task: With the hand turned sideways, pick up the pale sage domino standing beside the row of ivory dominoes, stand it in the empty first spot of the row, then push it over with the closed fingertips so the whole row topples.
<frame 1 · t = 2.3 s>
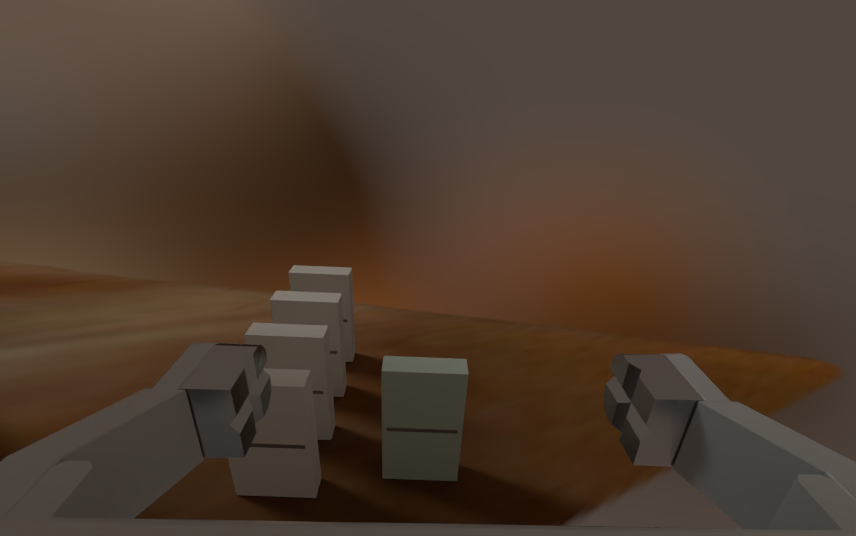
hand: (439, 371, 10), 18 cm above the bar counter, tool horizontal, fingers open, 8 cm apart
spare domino: (419, 470, 28), on the bar counter
domino 2: (280, 486, 27), on the bar counter
domino 3: (299, 431, 31), on the bar counter
domino 4: (315, 389, 35), on the bar counter
end domino: (327, 356, 39), on the bar counter
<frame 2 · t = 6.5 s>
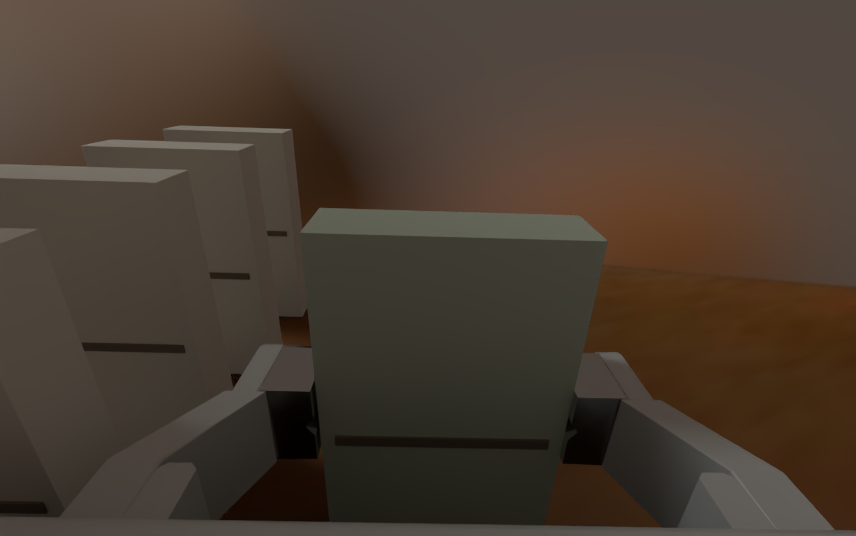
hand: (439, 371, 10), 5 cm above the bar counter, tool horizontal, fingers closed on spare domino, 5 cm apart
domino 3: (157, 447, 14), on the bar counter
domino 4: (219, 362, 18), on the bar counter
end domino: (258, 308, 22), on the bar counter
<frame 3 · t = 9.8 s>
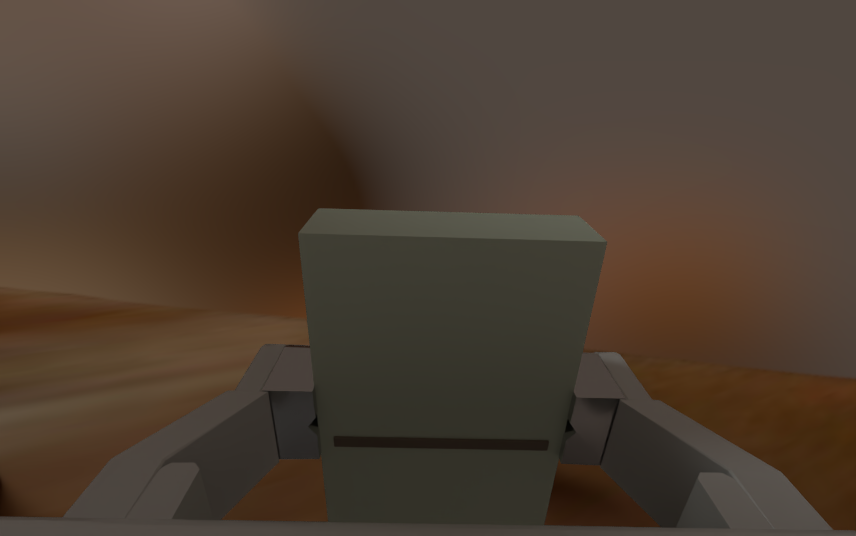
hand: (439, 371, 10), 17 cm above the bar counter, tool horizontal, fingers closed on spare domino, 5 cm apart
when the fingers open (6 cm above the bar counter, at t = 12.8 s): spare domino stays where it is, on the bar counter.
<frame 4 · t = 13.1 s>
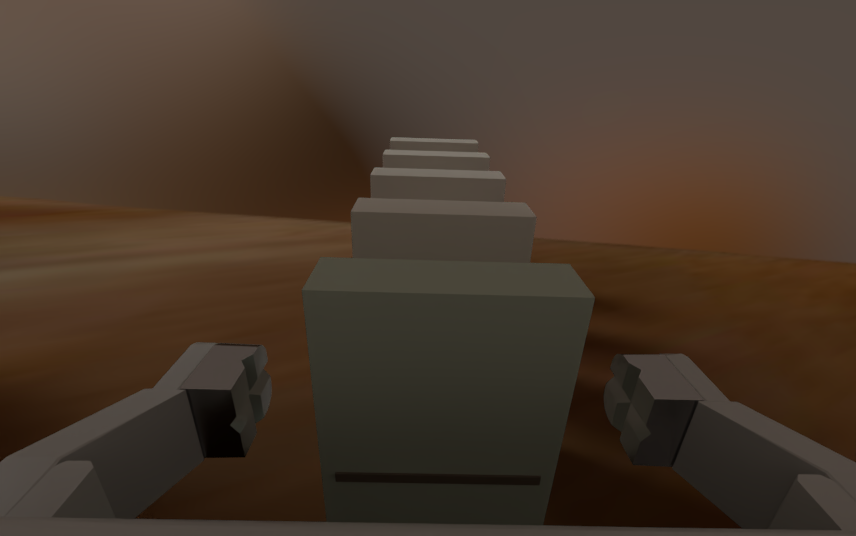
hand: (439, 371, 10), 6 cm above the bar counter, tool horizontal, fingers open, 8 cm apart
domino 2: (431, 440, 16), on the bar counter
domino 3: (430, 364, 20), on the bar counter
domino 4: (430, 314, 24), on the bar counter
end domino: (429, 279, 28), on the bar counter
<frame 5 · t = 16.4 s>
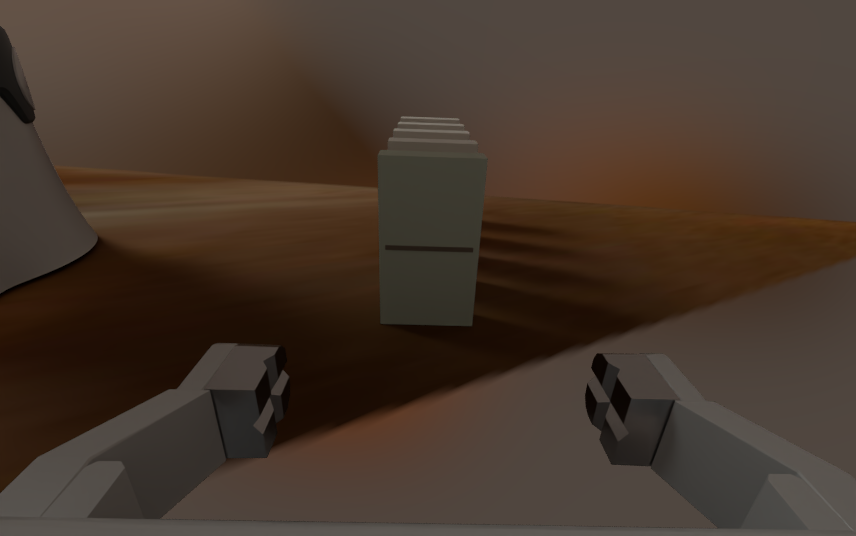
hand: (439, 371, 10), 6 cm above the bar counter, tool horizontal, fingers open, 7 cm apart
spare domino: (426, 318, 23), on the bar counter
domino 2: (427, 282, 27), on the bar counter
domino 3: (426, 255, 32), on the bar counter
domino 4: (427, 234, 36), on the bar counter
end domino: (426, 218, 40), on the bar counter
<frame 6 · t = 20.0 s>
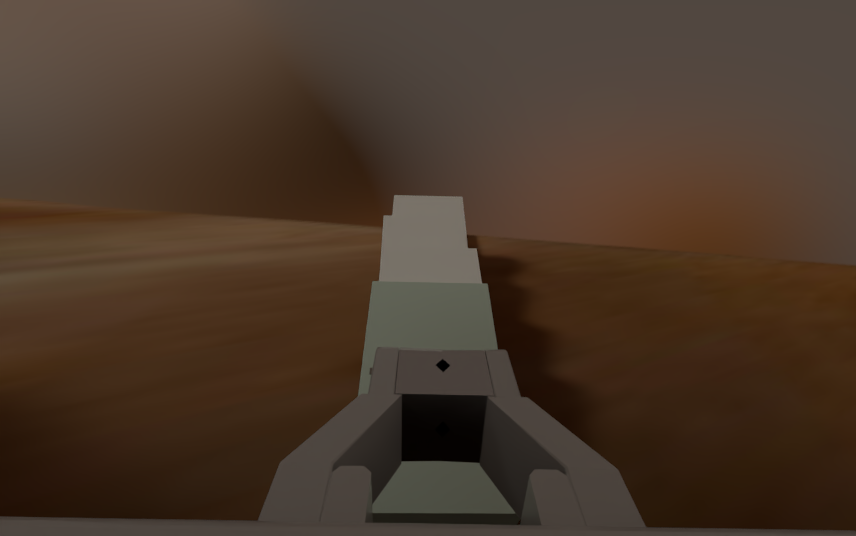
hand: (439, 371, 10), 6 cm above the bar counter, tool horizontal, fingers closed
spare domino: (432, 521, 12), point 1 cm above the bar counter, tilted 71°, touching domino 2
domino 2: (433, 412, 16), point 1 cm above the bar counter, tilted 72°, touching domino 3, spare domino
domino 3: (428, 338, 20), point 1 cm above the bar counter, tilted 71°, touching domino 2, domino 4
domino 4: (428, 292, 25), point 1 cm above the bar counter, tilted 71°, touching domino 3, end domino
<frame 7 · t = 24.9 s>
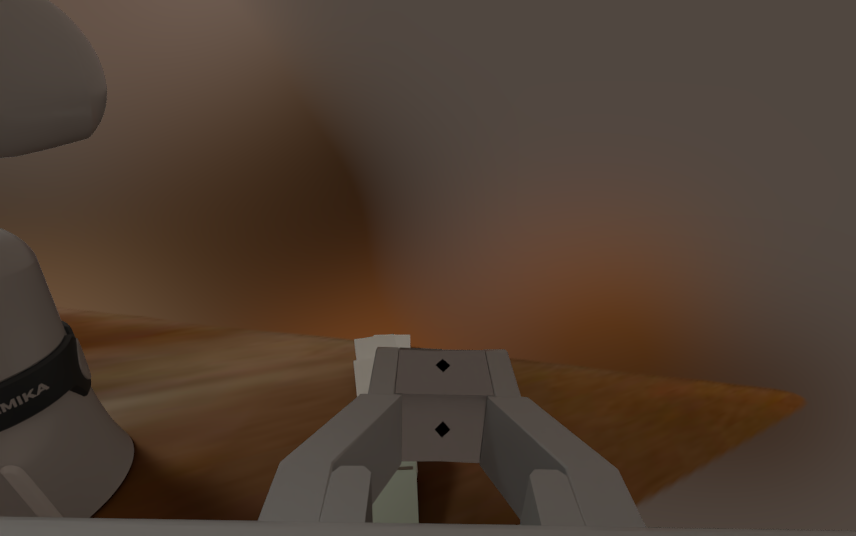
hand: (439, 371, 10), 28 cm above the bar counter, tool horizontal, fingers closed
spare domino: (387, 529, 34), point 1 cm above the bar counter, tilted 72°, touching domino 2
domino 3: (386, 434, 43), point 1 cm above the bar counter, tilted 72°, touching domino 2, domino 4
domino 4: (384, 403, 47), point 1 cm above the bar counter, tilted 73°, touching domino 3
end domino: (391, 383, 50), on the bar counter, tilted 89°
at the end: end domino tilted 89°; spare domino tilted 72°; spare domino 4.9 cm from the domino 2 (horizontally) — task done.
